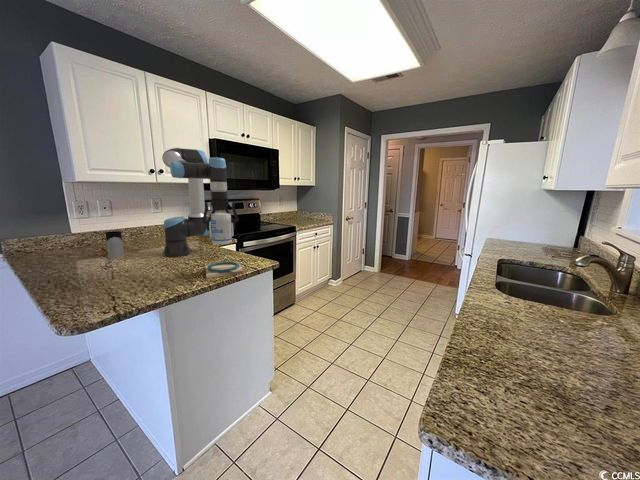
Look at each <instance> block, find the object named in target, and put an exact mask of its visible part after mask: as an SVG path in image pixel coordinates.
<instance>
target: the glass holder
mask: <svg viewBox="0 0 640 480" xmlns="http://www.w3.org/2000/svg"><path fill="white" fill-rule="evenodd" d="M104 234H105V242H106V250H107V254H108V255H107V258H108V259H118V258H120V259H121V258H124V257H126V254H125V246H124V241H123V236H122V235H123V234H122V232H121V231H120V230H115V231H114V230H113V231H106V232H104Z"/></svg>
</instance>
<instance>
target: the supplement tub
mask: <svg viewBox="0 0 640 480" xmlns="http://www.w3.org/2000/svg"><path fill="white" fill-rule="evenodd" d="M210 214H211V213H210ZM231 216H232V214H231V213H230V214H227V213H226V212H215V213H214V214H211V234H212V238H211V243H213V244H214V245H226V244H230V243H232V241H233V240H232V238H233V236H232V230H231V223H232V221H231Z"/></svg>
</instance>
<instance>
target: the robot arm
mask: <svg viewBox="0 0 640 480" xmlns="http://www.w3.org/2000/svg"><path fill="white" fill-rule="evenodd" d="M161 160H162V162H163V164H164V165H165V166H166V167H168V168H169V171H170V175H171V177H172V178H174V179H187V182H188V195H189V199H188V200H189V210H190V213H189V214H188V215H187V218H185V216H175V217H169V218H166V219H165V220H164V221H163V229H164V239H165V243H164V244H165V245H164V248H163V252H162V253H163V256H164V257H166V258H167V257H168V258H177V257H184V256H188V255H190V254H191V249H190V245H189V244H188V242H187V238H189V237H202V236H208V235H209V238H210V239H212V234H211V214H214V213H216V211H225V213H227V214H231V213H230V211H229V209H228V207H229V206H230V207H231V211H232V213H233V216H232V215H231V230H232V237H235V236H234V235H235V234H234V230H236V223H238V222H240V219H239V217H238V213H237V210H236V207H235V205H236V204H235V202H234V201H233V202H229V197H228V196H229V195H228V183H227V182H228V181H227V165H226V159H225V158H222V157H210V158H208V156H207V154H206V152H205V151H204V150H200V149H197V148H196V149H192V148H180V147H173V148H172V147H171V148H169V149H167V150H166V151H164V152H163V154H162V158H161ZM204 180H209V185H210V198H211V200H210V201H209V202H205V187H204ZM210 206H211V207H212V210H211V213H210V214H209V216H208V210H209V208H210Z"/></svg>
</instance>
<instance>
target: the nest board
mask: <svg viewBox="0 0 640 480" xmlns="http://www.w3.org/2000/svg"><path fill="white" fill-rule="evenodd" d="M204 266H205V274H206V275H205V278H206V279H211V278H219V277H228V276H236V275H243V274H244V273H245V272H244V269H243V267H242V266H241V264H240V262H239V261H219V262H213V263H211V264H205V265H204Z"/></svg>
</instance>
